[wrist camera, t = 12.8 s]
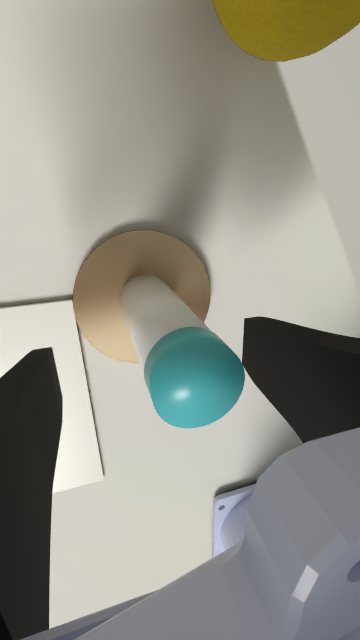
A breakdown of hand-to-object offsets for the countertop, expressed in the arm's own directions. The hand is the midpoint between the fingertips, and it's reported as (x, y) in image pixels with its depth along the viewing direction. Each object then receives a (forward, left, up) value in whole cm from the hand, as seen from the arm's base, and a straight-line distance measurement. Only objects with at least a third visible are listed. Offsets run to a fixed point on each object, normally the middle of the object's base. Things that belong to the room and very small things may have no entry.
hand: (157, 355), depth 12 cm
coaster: (0, 0, -5) cm, 5 cm away
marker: (+1, 0, -5) cm, 5 cm away
